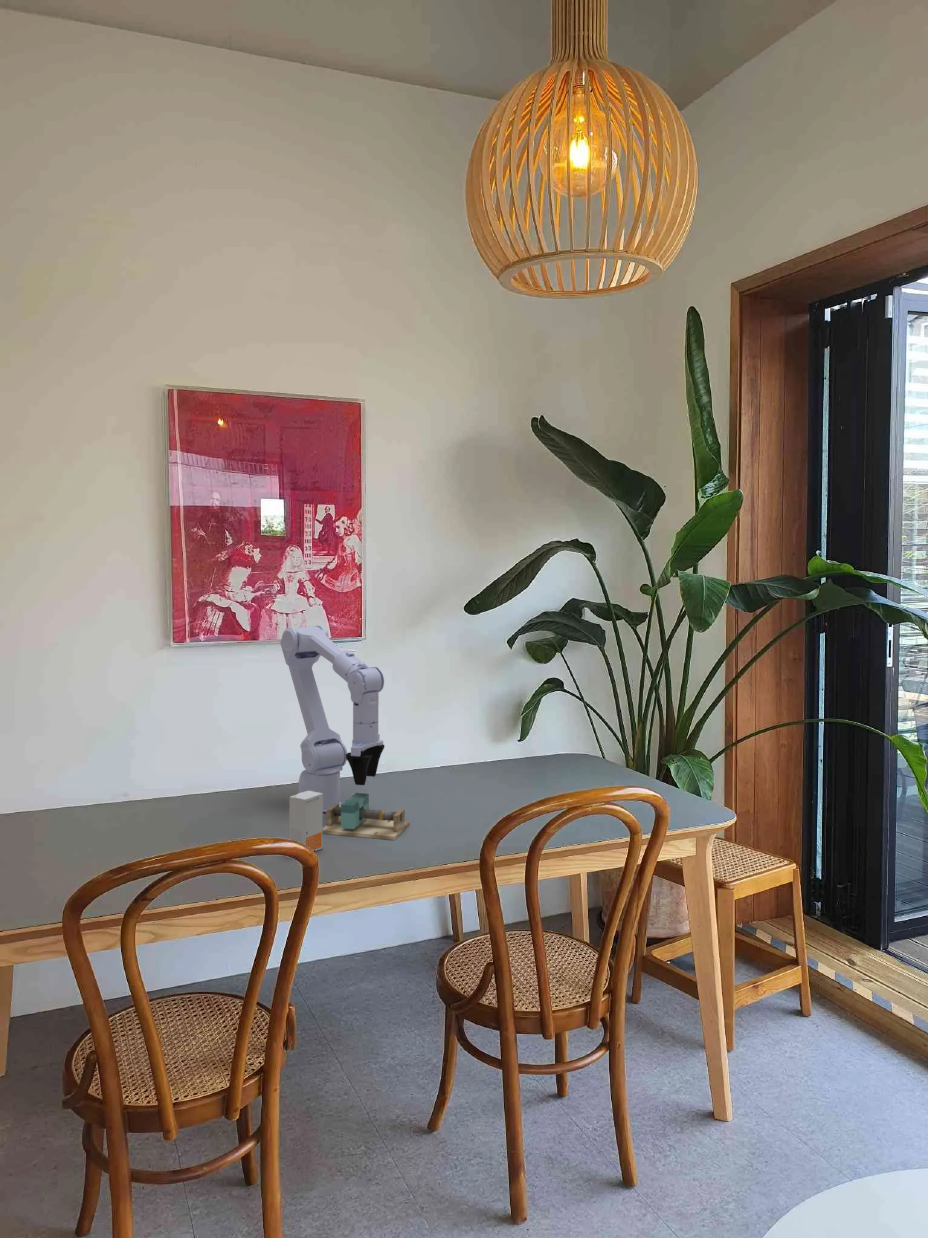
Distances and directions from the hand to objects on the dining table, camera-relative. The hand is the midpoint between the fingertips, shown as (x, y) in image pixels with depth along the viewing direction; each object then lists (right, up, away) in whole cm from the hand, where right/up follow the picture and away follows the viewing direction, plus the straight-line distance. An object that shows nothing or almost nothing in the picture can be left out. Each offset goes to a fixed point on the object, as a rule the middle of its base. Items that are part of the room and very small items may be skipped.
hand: (365, 780), depth 221 cm
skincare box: (-10, -12, -18) cm, 24 cm away
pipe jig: (0, -10, -4) cm, 11 cm away
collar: (-2, -9, -3) cm, 10 cm away
